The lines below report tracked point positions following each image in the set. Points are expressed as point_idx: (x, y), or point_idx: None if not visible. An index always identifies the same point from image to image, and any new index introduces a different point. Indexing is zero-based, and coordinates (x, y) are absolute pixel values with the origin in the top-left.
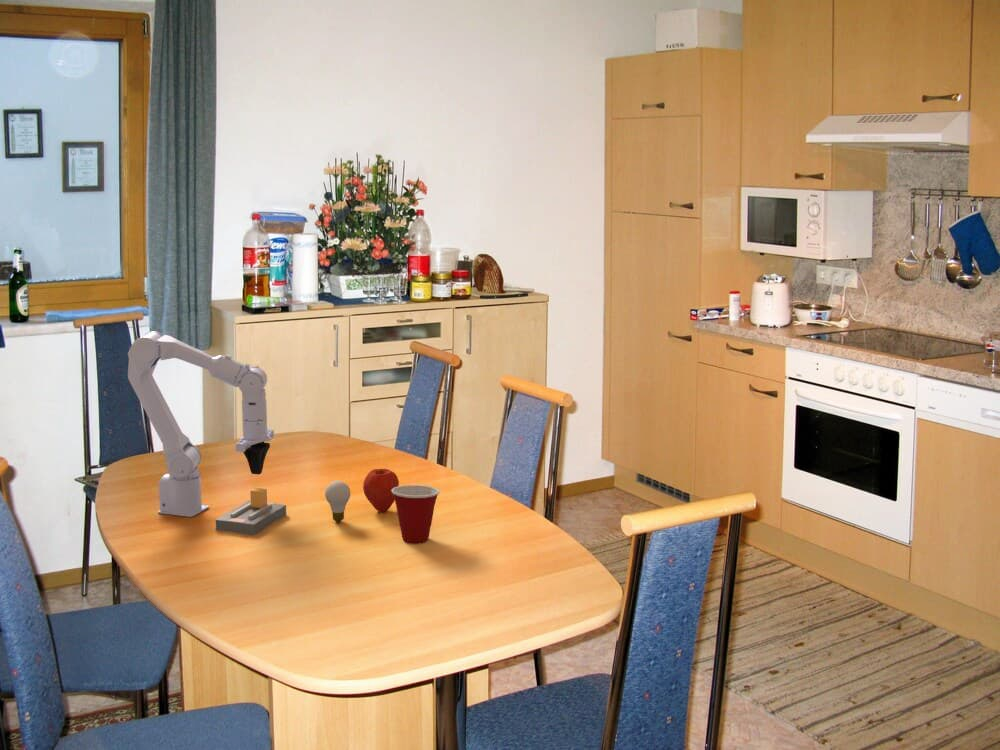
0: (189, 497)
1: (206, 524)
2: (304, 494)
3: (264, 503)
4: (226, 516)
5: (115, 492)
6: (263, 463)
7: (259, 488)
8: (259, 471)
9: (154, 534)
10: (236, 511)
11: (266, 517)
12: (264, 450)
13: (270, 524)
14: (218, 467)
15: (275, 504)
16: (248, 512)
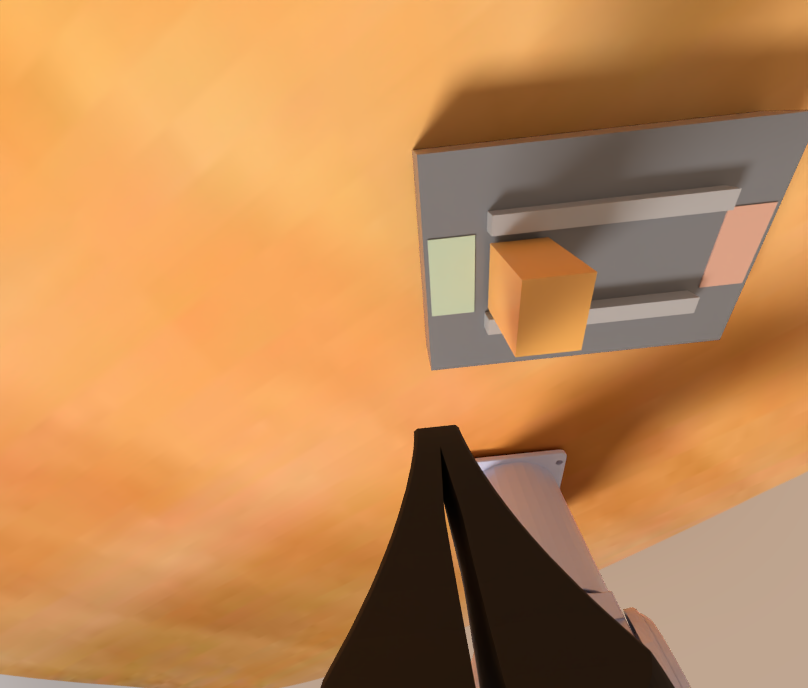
0: (567, 516)
1: (620, 379)
2: (91, 267)
3: (527, 245)
4: (672, 325)
5: None
6: (413, 486)
7: (521, 329)
8: (461, 438)
9: (729, 441)
10: (654, 309)
11: (665, 127)
12: (466, 647)
13: (590, 130)
14: (143, 605)
15: (435, 222)
16: (600, 272)
